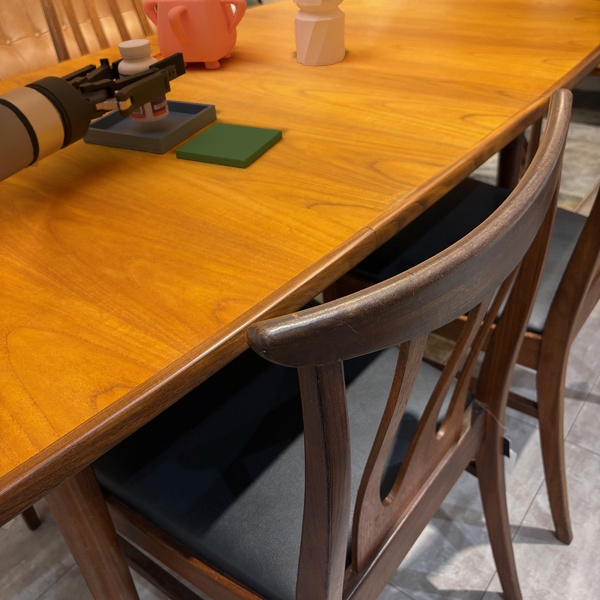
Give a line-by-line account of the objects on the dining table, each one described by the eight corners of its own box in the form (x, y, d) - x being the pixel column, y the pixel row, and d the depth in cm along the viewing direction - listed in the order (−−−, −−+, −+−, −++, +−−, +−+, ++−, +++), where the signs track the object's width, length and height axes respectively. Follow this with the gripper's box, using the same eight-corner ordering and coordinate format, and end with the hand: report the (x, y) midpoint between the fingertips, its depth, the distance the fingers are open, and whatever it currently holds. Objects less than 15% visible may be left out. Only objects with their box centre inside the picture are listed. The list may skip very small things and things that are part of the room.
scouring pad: (176, 157, 77) (175, 150, 77) (218, 129, 84) (217, 122, 84) (245, 168, 74) (244, 160, 73) (282, 137, 81) (281, 130, 80)
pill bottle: (166, 107, 87) (152, 35, 81) (172, 119, 83) (157, 44, 77) (127, 114, 86) (111, 41, 80) (131, 126, 82) (114, 50, 76)
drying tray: (84, 142, 84) (80, 127, 82) (143, 109, 93) (140, 96, 92) (162, 154, 79) (159, 139, 77) (217, 118, 88) (215, 104, 87)
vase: (298, 67, 106) (294, -9, 98) (294, 54, 113) (290, -19, 105) (349, 63, 106) (348, -14, 99) (341, 50, 113) (340, -23, 106)
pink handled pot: (182, 80, 104) (168, -5, 96) (145, 61, 114) (129, -17, 107) (265, 59, 111) (258, -21, 103) (223, 44, 122) (214, -31, 114)
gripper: (-6, 142, 74) (117, 83, 90) (114, 161, 67) (224, 94, 83) (-30, 79, 69) (105, 29, 86) (96, 92, 62) (216, 35, 79)
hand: (163, 61), depth 85 cm, fingers closed on pill bottle, 5 cm apart
